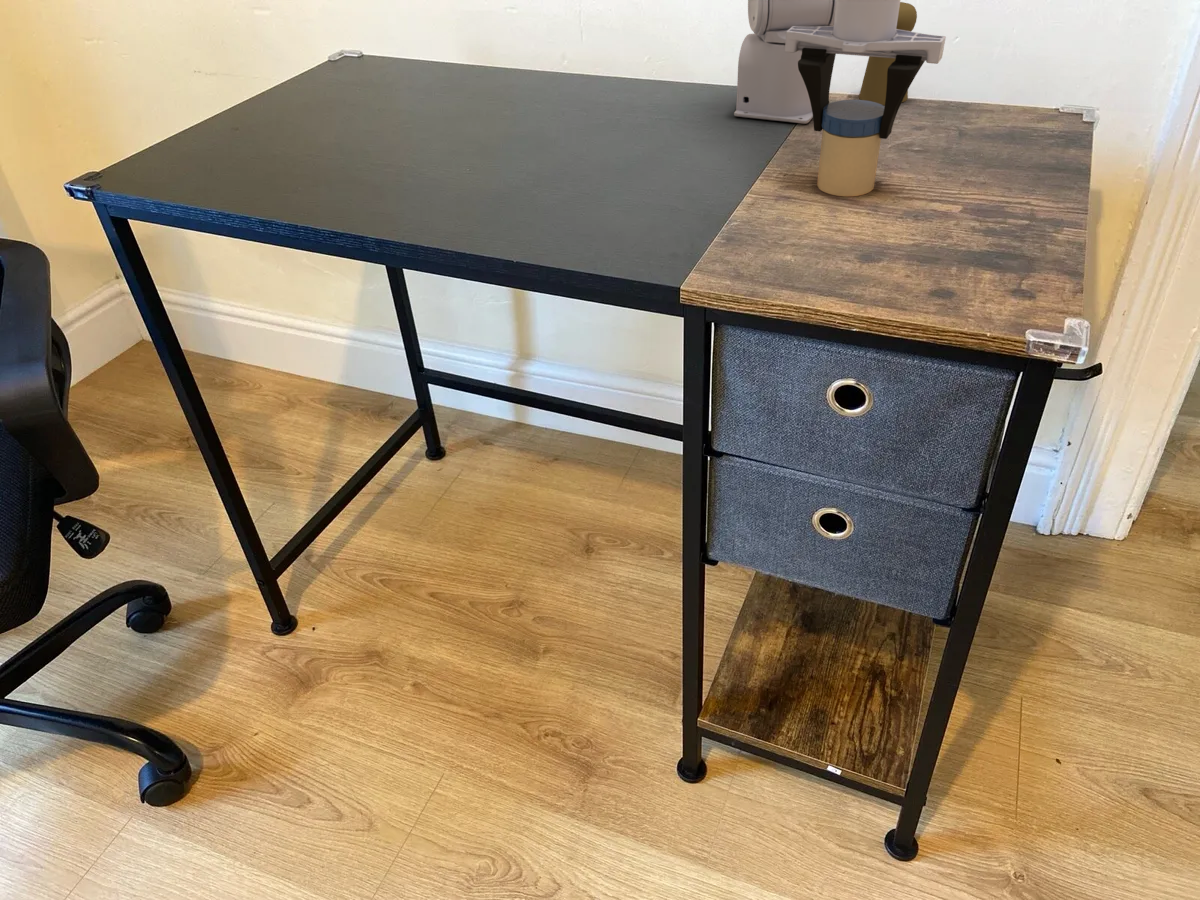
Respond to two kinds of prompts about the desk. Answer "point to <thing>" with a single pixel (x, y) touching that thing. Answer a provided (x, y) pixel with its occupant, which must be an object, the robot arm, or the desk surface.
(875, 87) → the olive cone figure
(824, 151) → the jar
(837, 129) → the lid
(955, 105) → the desk surface
